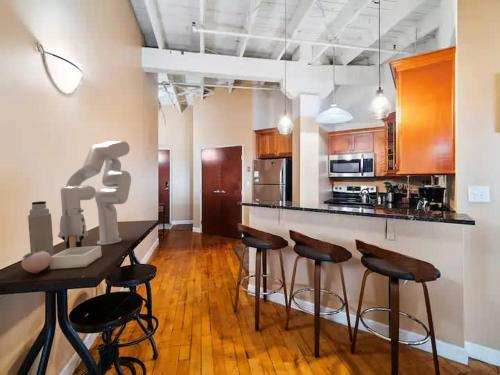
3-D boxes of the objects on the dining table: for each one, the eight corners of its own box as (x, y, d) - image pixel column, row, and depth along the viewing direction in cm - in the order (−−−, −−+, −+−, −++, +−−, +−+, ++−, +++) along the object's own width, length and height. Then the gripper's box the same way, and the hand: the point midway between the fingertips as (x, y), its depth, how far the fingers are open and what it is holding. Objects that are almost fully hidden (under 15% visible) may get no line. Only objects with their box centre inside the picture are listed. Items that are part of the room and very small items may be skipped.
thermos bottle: (28, 268, 111) (23, 203, 110) (35, 263, 119) (30, 201, 117) (51, 265, 114) (47, 201, 113) (56, 260, 122) (52, 200, 120)
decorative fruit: (36, 278, 100) (34, 252, 100) (18, 277, 102) (16, 252, 101) (57, 269, 109) (56, 245, 109) (41, 268, 111) (39, 245, 110)
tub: (70, 258, 125) (69, 247, 125) (101, 256, 126) (100, 245, 126) (50, 269, 110) (49, 257, 110) (85, 266, 111) (84, 255, 111)
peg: (72, 254, 130) (71, 234, 130) (80, 254, 130) (79, 234, 130) (68, 257, 126) (67, 236, 126) (76, 256, 127) (75, 236, 126)
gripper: (93, 210, 132) (95, 246, 133) (58, 212, 130) (60, 248, 131) (85, 212, 125) (88, 250, 125) (48, 214, 123) (51, 253, 124)
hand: (74, 249), depth 128 cm, fingers closed on peg, 3 cm apart
